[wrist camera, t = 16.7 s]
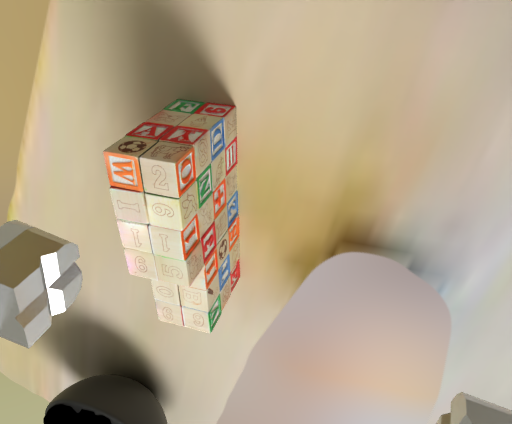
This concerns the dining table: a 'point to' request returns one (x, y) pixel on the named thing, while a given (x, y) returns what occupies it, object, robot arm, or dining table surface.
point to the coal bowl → (105, 403)
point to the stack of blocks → (180, 208)
